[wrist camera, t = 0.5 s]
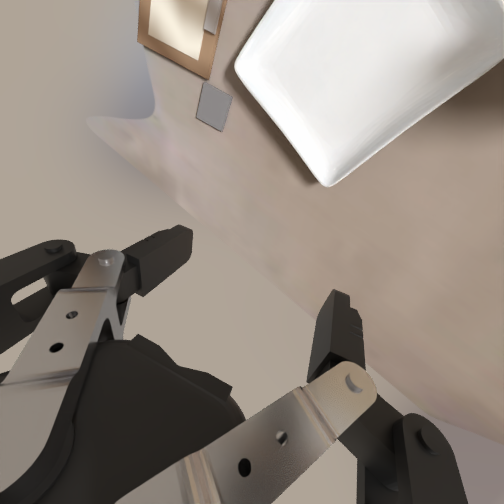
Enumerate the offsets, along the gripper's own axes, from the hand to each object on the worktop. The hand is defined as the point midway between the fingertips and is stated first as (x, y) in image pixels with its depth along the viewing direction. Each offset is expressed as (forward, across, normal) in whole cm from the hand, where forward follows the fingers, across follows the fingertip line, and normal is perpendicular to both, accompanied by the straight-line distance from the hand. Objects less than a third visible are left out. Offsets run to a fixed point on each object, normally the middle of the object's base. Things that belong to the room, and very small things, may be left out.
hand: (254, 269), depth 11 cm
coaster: (+27, +19, -6) cm, 33 cm away
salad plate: (+28, +1, -14) cm, 31 cm away
